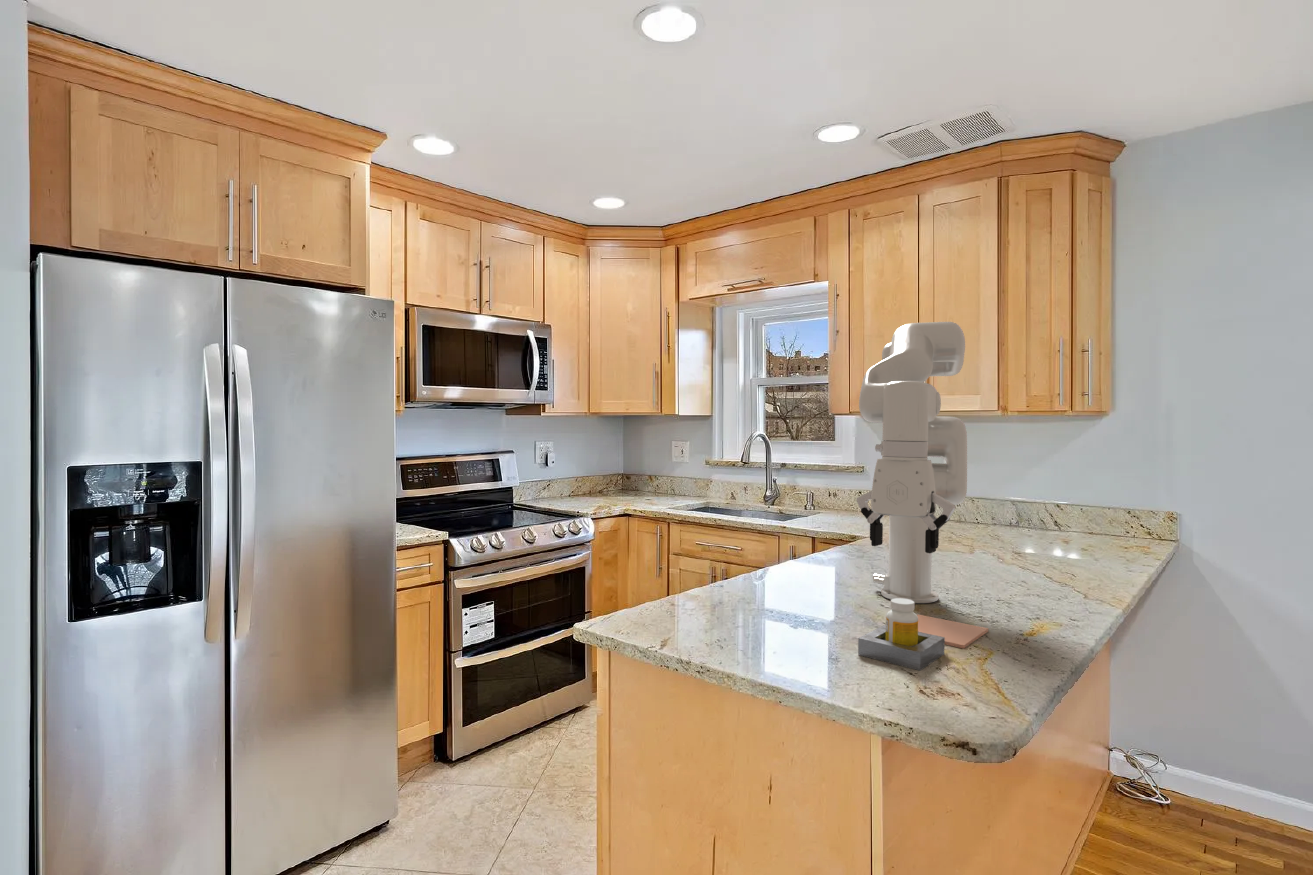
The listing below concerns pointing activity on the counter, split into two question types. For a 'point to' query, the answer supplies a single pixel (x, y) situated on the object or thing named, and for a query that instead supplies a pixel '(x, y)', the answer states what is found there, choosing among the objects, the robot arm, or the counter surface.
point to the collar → (901, 649)
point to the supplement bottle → (902, 622)
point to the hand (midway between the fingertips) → (903, 548)
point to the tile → (950, 630)
